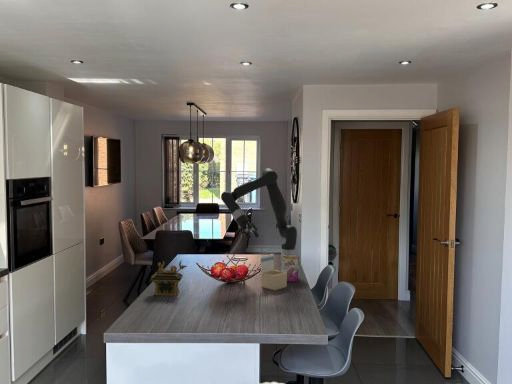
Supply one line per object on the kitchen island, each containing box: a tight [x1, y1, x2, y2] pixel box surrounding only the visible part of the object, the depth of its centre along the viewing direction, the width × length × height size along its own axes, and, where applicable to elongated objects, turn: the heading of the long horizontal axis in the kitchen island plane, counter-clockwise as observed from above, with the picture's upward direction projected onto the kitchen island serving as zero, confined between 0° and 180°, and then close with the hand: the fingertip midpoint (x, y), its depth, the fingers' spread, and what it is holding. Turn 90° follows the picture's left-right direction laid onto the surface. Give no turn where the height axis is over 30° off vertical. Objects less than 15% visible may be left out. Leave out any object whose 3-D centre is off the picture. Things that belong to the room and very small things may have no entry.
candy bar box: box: [280, 254, 300, 283], centre depth 304 cm, size 11×5×16 cm, turn 84°
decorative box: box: [150, 260, 188, 297], centre depth 267 cm, size 20×10×20 cm, turn 91°
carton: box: [261, 269, 288, 291], centre depth 287 cm, size 12×10×9 cm
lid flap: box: [260, 253, 275, 274], centre depth 290 cm, size 12×10×1 cm
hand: (253, 237), depth 297 cm, fingers open, 8 cm apart
